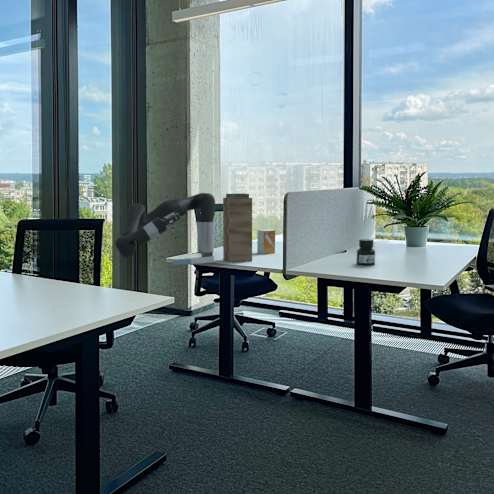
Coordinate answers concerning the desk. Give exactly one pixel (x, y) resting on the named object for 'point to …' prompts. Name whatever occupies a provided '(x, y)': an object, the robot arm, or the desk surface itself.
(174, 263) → the pale blue long bar
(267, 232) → the small box
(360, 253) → the ink bottle
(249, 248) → the stand
